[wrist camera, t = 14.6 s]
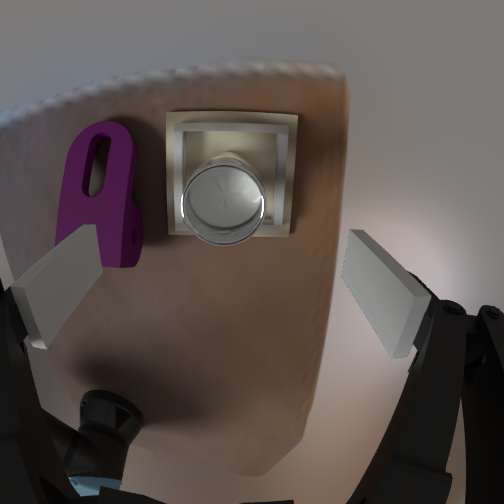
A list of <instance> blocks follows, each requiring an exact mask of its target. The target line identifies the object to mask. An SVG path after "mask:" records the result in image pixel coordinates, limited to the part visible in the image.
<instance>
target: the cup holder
mask: <svg viewBox="0 0 504 504" xmlns="http://www.w3.org/2000/svg"><path fill="white" fill-rule="evenodd" d="M297 126H298V115H289V114H276V113H261V112H236V111H187V112H167V118H166V186H167V215H168V235H194V234H193V233H192V232H191V231H190V230H189V228H188V227H187V225H186V223H185V221H184V219H183V216H182V211H181V198H182V194H183V191H184V188H185V186H186V184H187V182H188V180H189V178H190V176H191V175H192V173H193V172H194V171H195V169H196V168H197V167H198V166H199V165H201V164H202V163H203V162H205V161H206V160H208V159H210V158H212V157H214V156H215V155H217V154H219V153H222V152H235V153H238V154H240V155H242V156H243V157H245V158H246V159H247V160H248V162H249V163H250V164H251V165H252V166H253V167H254V168H255V169H256V170H257V172H258V173H259V175H260V176H261V179H262V181H263V184H264V187H265V194H266V200H267V210H266V215H265V218H264V221H263V223H262V225H261V226H260V228H259V229H258V231H257V232H256V233H255V234H254V235H253V236H259V237H289V230H290V219H291V208H292V196H293V183H294V170H295V157H296V142H297Z"/></svg>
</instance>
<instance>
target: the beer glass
mask: <svg viewBox="0 0 504 504" xmlns="http://www.w3.org/2000/svg"><path fill="white" fill-rule="evenodd" d="M266 210H267V200H266V194H265V187H264V184H263V181H262V179H261V176H260V175H259V173H258V172H257V170H256V169H255V168H254V167H253V166H252V165H251V164H250V163H249V162H248V160H247V159H246V158H245V157H243V156H242V155H240V154H238V153H235V152H222V153H219V154H217V155H215V156H214V157H212V158H210V159H208V160H206V161H205V162H203V163H202V164H201V165H199V166H198V167H197V168H196V169H195V171H194V172H193V173H192V175H191V176H190V178H189V180H188V182H187V184H186V186H185V188H184V191H183V194H182V198H181V211H182V216H183V219H184V221H185V223H186V225H187V227H188V228H189V230H190V231H191V232H192V233H193V234H194V235H195V236H196V237H198V238H199V239H200V240H202V241H204V242H206V243H209V244H212V245H216V246H232V245H236V244H239V243H242V242H244V241H246V240H247V239H249V238H250V237H252V236H253V235H254V234H255V233H256V232H257V231H258V229H259V228H260V226H261V225H262V223H263V221H264V218H265V215H266Z"/></svg>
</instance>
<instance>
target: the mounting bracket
mask: <svg viewBox="0 0 504 504" xmlns="http://www.w3.org/2000/svg"><path fill="white" fill-rule="evenodd" d="M106 138H111V145H110V151H109V156H108V162H107V168H106V174H105V180H104V186H103V189H102V191H101V192H100V193H99V194H98V195H97V196H95V197H90V195H89V183H90V177H91V171H92V165H93V159H94V154H95V149H96V147H97V145H98V143H99V142H100V141H102V140H104V139H106ZM136 161H137V147H136V143H135V141H134V139H133V138H132V136H131V135H130V133H129V132H128V131H127V129H126V128H125V127H124V126H122V125H121V124H119V123H117V122H113V121H102V122H98V123H95V124H93V125H91V126H89V127H87V128H86V129H85V130H83V131H82V132H81V133H80V134H79V135H78V136H77V137H76V139H75V140H74V142H73V143H72V145H71V147H70V149H69V152H68V155H67V160H66V165H65V170H64V176H63V182H62V188H61V194H60V201H59V209H58V218H57V228H56V239H55V246H57V245H58V244H59V243H60V242H62V241H63V240H64V239H65V238H67V237H68V236H69V235H70V234H72V233H73V232H74V231H76V230H77V229H78V228H80V227H81V226H82V225H89V224H96V232H97V239H98V246H99V253H100V259H101V265H102V266H104V267H117V268H127V267H135V266H136V264H137V263H138V260H139V258H140V254H141V249H142V242H143V228H142V215H141V212H140V209H139V207H138V206H136V205H135V204H133V203H132V191H133V183H134V175H135V168H136Z"/></svg>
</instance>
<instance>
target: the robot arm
mask: <svg viewBox="0 0 504 504" xmlns="http://www.w3.org/2000/svg"><path fill="white" fill-rule="evenodd" d="M102 272H103V270H102V265H101V259H100V253H99V246H98V239H97V232H96V224H89V225H82V226H81V227H80V228H78V229H77V230H76V231H74V232H73V233H72V234H70V235H69V236H68V237H67V238H65V239H64V240H63V241H62V242H60V243H59V244H58V245H57V246H55V247H54V248H53V249H52V250H50V251H49V252H48V253H47V254H46V255H44V256H43V257H42V258H41V259H40V260H39V261H37V262H36V263H35V264H34V265H33V266H32V267H30V268H29V269H28V270H27V271H26V272H25V273H24V274H23V275H21V276H20V277H19V278H18V279H17V280H16V281H15V282H14V283H13V284H12V285H11V286H10V287H9V288H8V289H7V290H6V291H4V288H3V285H2V282H1V279H0V504H166V503H163V502H160V501H158V500H155V499H153V498H150V497H147V496H145V495H141V494H136V493H130V492H126V491H121V490H119V489H120V485H121V484H122V477H123V472H124V467H125V462H126V457H127V452H128V448H129V446H130V444H131V443H132V441H133V440H134V439H135V437H136V436H137V435H138V433H139V432H140V430H141V427H142V423H143V417H142V415H141V413H140V411H139V410H138V409H137V408H136V407H135V406H134V405H132V404H131V403H130V402H128V401H127V400H125V399H123V398H121V397H119V396H117V395H114V394H112V393H108V392H104V391H89V392H86V393H85V394H84V395H83V397H82V400H81V402H80V426H79V429H78V431H76V430H75V429H73V428H71V427H70V426H68V425H67V424H65V423H63V422H62V421H60V420H58V419H57V418H56V417H54V416H53V415H51V414H50V413H48V412H47V411H45V410H44V409H42V408H41V405H40V402H39V398H38V395H37V391H36V387H35V383H34V379H33V375H32V371H31V367H30V362H29V357H28V353H27V347H26V346H25V343H24V341H23V340H24V339H25V337H26V336H27V335H28V336H29V339H30V341H31V343H32V345H33V347H37V348H42V349H46V350H47V348H48V347H49V345H50V344H51V342H52V341H53V339H54V338H55V336H56V335H57V333H58V332H59V331H60V329H61V328H62V326H63V325H64V323H65V322H66V320H67V319H68V318H69V316H70V315H71V313H72V312H73V311H74V309H75V308H76V307H77V305H78V304H79V302H80V301H81V300H82V298H83V297H84V296H85V294H86V293H87V292H88V290H89V289H90V288H91V287H92V285H93V284H94V283H95V281H96V280H97V279H98V277H99V276H100V275H101V274H102ZM341 277H342V279H343V280H344V282H345V284H346V285H347V287H348V288H349V290H350V291H351V292H352V294H353V296H354V297H355V299H356V301H357V302H358V304H359V306H360V307H361V309H362V310H363V312H364V314H365V315H366V317H367V319H368V320H369V322H370V323H371V325H372V327H373V328H374V330H375V332H376V333H377V335H378V337H379V338H380V340H381V342H382V343H383V345H384V347H385V349H386V350H387V352H388V354H389V355H390V357H391V359H394V358H401V357H407V356H408V355H409V352H410V350H411V348H412V345H413V344H414V346H415V347H416V349H417V350H418V351H417V353H416V355H415V357H414V359H413V361H412V364H411V366H410V368H409V370H408V372H409V375H408V378H407V381H406V383H405V386H404V389H403V392H402V394H401V397H400V399H399V402H398V404H397V407H396V409H395V411H394V414H393V416H392V419H391V421H390V423H389V425H388V428H387V430H386V432H385V434H384V436H383V438H382V441H381V443H380V445H379V447H378V449H377V451H376V453H375V455H374V457H373V459H372V461H371V462H370V465H369V466H368V468H367V470H366V472H365V474H364V475H363V477H362V479H361V481H360V483H359V484H358V486H357V488H356V489H355V491H354V493H353V494H352V496H351V497H350V499H349V500H348V502H347V503H346V504H446V500H447V498H448V495H449V492H450V488H451V484H452V474H451V473H447V472H446V470H445V469H446V464H447V461H448V457H449V453H450V449H451V445H452V440H453V436H454V431H455V427H456V422H457V416H458V411H459V405H460V398H461V400H462V409H463V418H464V431H465V447H466V495H465V496H466V497H465V504H504V314H503V313H502V312H501V311H500V309H498V308H496V307H495V306H489V305H484V306H482V307H481V308H480V310H479V313H478V315H477V316H473V315H467V313H466V310H465V309H464V308H463V307H462V306H461V305H459V304H458V303H456V302H454V301H450V300H440V299H439V298H438V297H437V296H436V295H435V294H434V293H433V292H432V291H431V290H430V289H429V288H427V286H426V285H425V284H424V283H422V281H421V280H420V279H419V278H418V277H417V276H415V275H414V274H412V273H410V272H408V271H406V270H405V269H404V268H403V267H402V266H401V265H400V264H399V263H398V262H397V261H396V260H395V259H394V258H393V257H392V256H391V255H390V254H389V253H388V252H387V251H385V250H384V249H383V248H382V247H381V246H380V245H379V244H378V243H377V242H376V241H375V240H373V239H372V238H371V237H370V236H369V235H368V234H367V233H366V232H364V231H363V230H353V229H350V230H349V236H348V243H347V249H346V254H345V260H344V265H343V271H342V276H341ZM79 494H81V495H84V496H82V497H81V496H80V495H79ZM241 504H294V501H293V500H285V501H273V502H255V503H241Z"/></svg>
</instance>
